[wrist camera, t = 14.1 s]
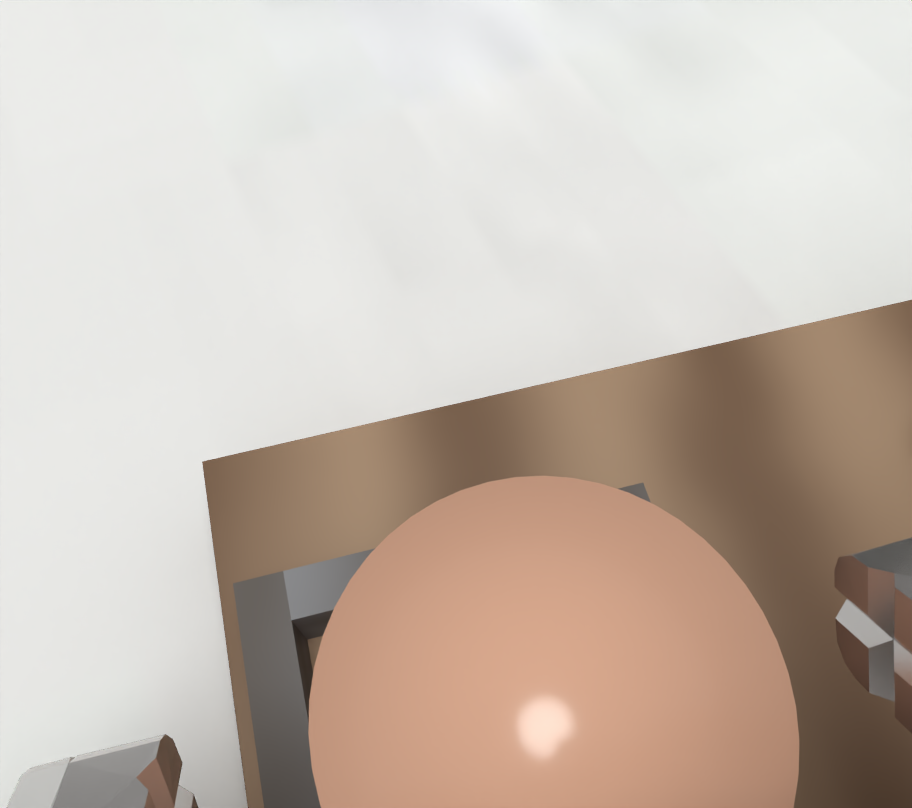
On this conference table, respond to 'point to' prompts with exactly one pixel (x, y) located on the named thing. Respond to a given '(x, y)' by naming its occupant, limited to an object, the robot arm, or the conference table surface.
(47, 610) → the conference table surface
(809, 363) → the build base
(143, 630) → the conference table surface
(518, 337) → the conference table surface
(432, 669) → the terracotta pillar
